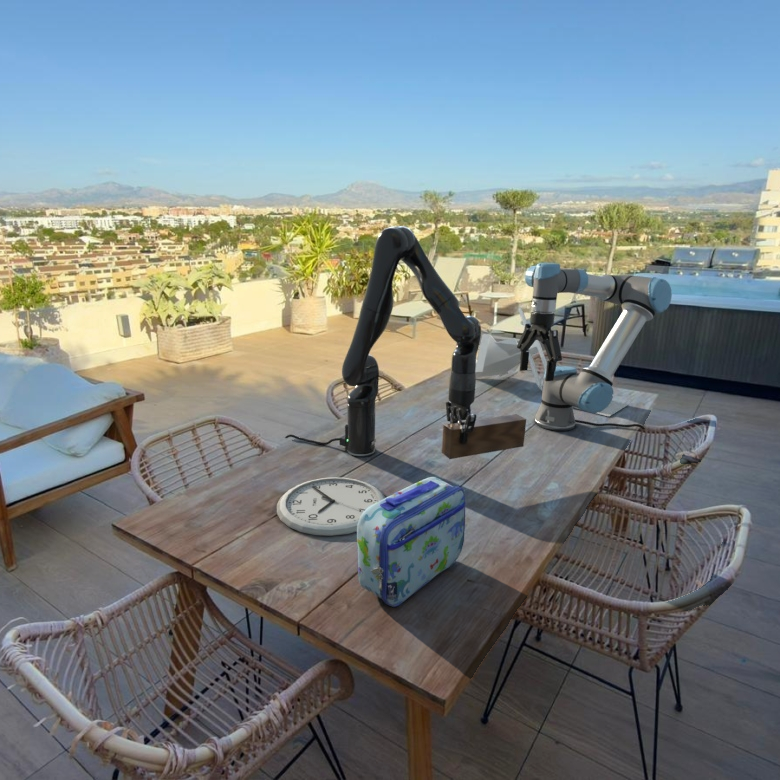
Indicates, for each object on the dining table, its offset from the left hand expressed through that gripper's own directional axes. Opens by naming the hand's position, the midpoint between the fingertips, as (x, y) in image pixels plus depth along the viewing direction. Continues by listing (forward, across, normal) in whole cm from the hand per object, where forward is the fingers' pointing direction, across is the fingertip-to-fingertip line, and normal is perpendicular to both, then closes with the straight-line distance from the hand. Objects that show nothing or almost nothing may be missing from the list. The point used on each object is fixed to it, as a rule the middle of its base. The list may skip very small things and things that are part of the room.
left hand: (458, 439), depth 156 cm
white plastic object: (+12, -78, +73) cm, 107 cm away
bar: (+5, 0, +9) cm, 10 cm away
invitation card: (+12, -35, +93) cm, 100 cm away
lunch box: (+12, +39, -33) cm, 53 cm away
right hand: (-14, -11, +35) cm, 39 cm away
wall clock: (+12, +2, -40) cm, 42 cm away
